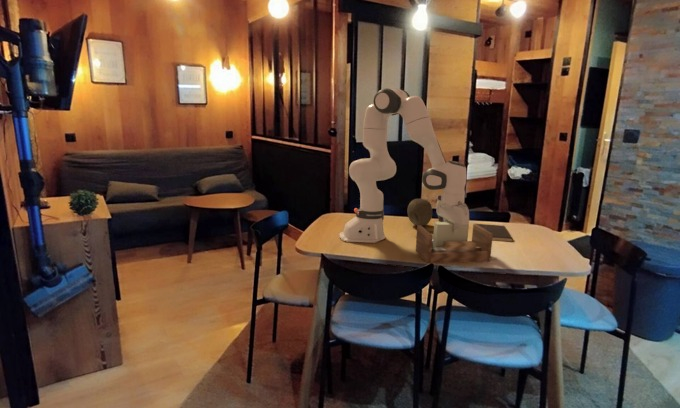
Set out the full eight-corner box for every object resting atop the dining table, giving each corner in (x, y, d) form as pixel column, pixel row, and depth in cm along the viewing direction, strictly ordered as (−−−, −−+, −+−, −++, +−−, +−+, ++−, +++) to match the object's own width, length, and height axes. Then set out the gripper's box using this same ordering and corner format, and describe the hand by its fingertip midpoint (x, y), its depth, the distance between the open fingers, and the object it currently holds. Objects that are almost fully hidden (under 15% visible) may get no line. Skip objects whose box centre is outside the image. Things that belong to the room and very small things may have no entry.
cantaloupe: (437, 227, 219) (439, 200, 216) (416, 230, 213) (418, 202, 210) (421, 221, 232) (423, 195, 228) (400, 223, 225) (402, 197, 222)
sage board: (435, 255, 176) (437, 224, 173) (432, 252, 180) (434, 222, 177) (466, 254, 178) (468, 224, 175) (462, 251, 182) (464, 221, 178)
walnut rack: (426, 263, 167) (428, 235, 164) (415, 250, 181) (417, 225, 179) (489, 261, 170) (492, 233, 168) (473, 249, 185) (476, 224, 182)
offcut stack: (433, 261, 169) (435, 244, 168) (430, 258, 173) (432, 241, 171) (479, 260, 172) (480, 243, 170) (475, 257, 175) (477, 241, 174)
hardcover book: (478, 239, 201) (479, 235, 201) (474, 227, 223) (474, 223, 222) (512, 242, 198) (513, 238, 197) (504, 229, 220) (505, 225, 219)
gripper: (474, 204, 165) (471, 237, 168) (447, 194, 184) (444, 223, 187) (461, 205, 163) (458, 238, 166) (434, 195, 182) (432, 224, 185)
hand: (450, 230), depth 176 cm, fingers open, 5 cm apart
